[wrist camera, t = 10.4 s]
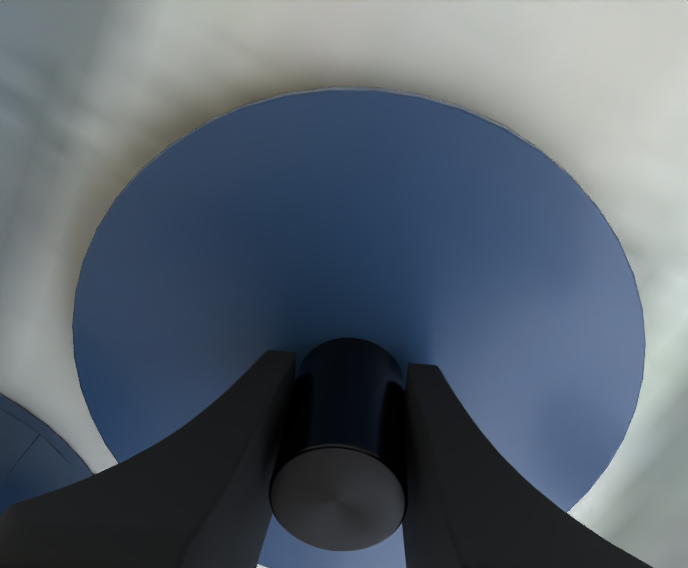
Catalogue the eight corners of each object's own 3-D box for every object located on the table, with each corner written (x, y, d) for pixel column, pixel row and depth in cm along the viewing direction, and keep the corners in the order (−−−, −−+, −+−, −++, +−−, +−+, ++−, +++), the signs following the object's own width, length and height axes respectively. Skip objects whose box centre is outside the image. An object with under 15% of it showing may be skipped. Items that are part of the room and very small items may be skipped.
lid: (562, 572, 17) (619, 760, 13) (117, 526, 18) (30, 693, 13) (701, 108, 12) (873, 168, 8) (61, 59, 12) (-112, 90, 8)
